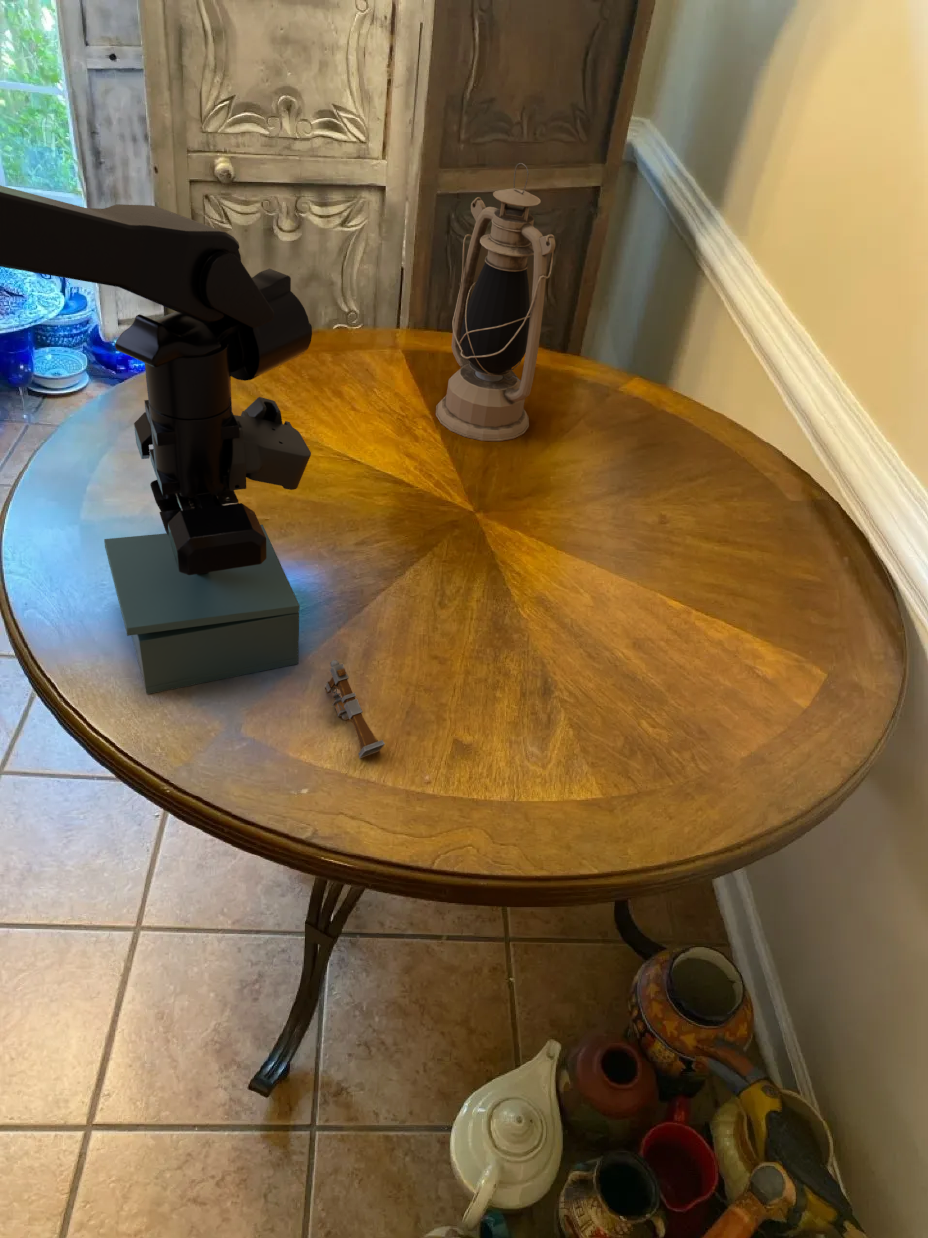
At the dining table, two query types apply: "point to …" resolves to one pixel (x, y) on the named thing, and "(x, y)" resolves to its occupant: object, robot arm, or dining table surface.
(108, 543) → the lid
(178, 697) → the dining table surface
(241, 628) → the chest
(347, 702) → the toy rocket launcher
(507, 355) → the lantern
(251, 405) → the robot arm
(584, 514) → the dining table surface
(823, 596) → the dining table surface
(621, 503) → the dining table surface
